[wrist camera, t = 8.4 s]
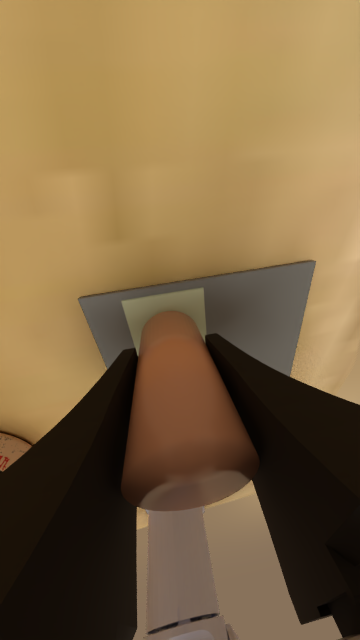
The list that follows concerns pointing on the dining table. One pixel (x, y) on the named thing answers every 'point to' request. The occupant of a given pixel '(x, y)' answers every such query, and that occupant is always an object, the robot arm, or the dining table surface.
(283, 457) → the robot arm
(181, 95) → the dining table surface
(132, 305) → the board
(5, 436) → the teacup with lid
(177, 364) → the peg
